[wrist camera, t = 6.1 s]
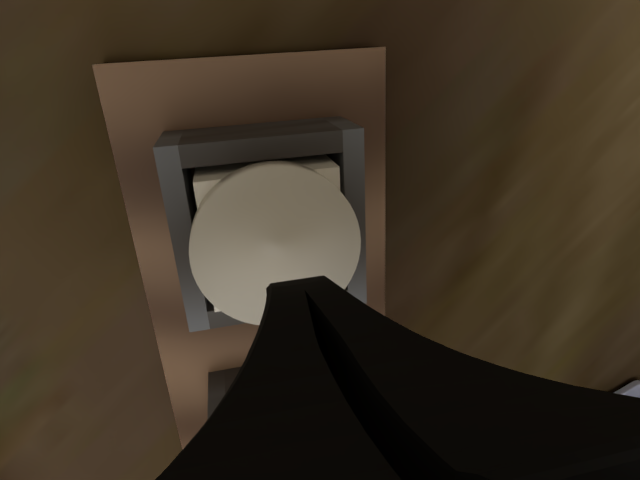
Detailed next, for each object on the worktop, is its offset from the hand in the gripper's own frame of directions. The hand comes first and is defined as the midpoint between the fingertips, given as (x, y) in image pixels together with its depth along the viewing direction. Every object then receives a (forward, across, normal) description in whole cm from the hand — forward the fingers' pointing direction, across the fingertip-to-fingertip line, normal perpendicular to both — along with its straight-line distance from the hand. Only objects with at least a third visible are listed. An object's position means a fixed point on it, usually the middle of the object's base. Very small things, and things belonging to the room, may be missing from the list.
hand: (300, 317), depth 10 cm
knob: (+8, 0, 0) cm, 8 cm away
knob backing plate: (+10, 0, +10) cm, 14 cm away
